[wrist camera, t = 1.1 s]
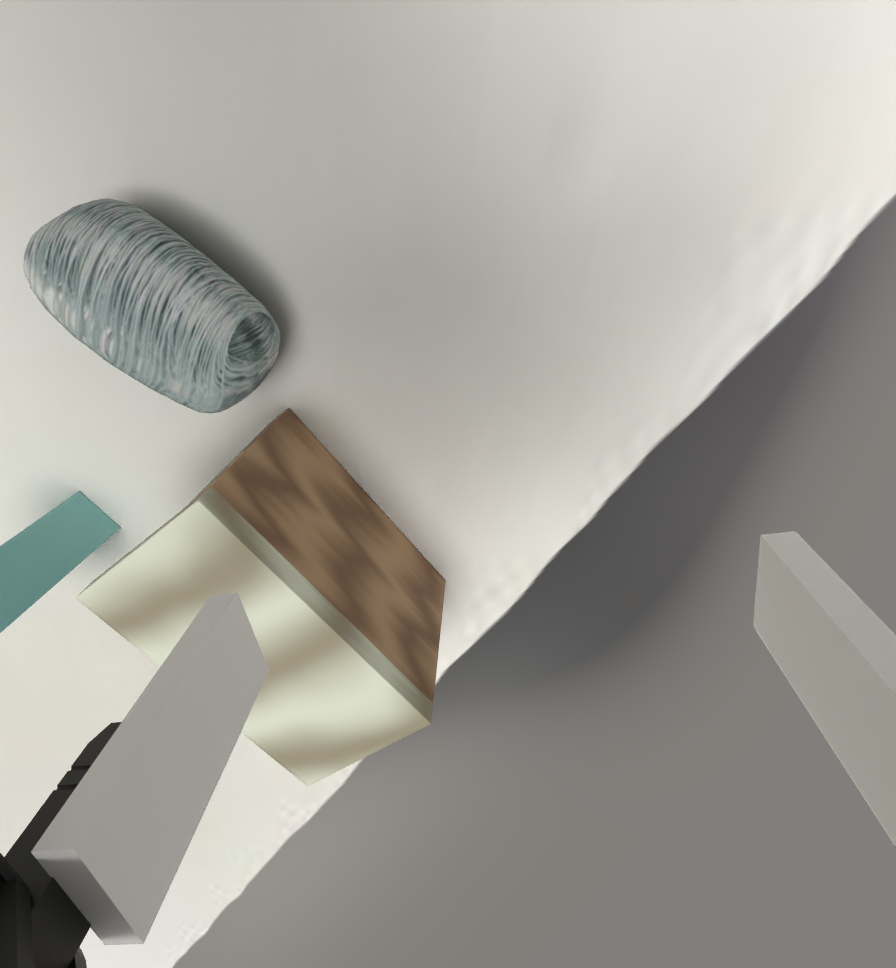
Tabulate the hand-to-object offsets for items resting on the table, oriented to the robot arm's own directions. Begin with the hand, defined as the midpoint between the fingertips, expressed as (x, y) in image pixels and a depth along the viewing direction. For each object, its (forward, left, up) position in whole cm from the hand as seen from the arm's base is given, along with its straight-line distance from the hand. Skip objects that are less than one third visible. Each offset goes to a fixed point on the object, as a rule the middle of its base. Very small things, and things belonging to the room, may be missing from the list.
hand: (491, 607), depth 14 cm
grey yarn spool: (-15, -13, -26) cm, 32 cm away
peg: (-9, -33, -26) cm, 43 cm away
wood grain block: (+3, -18, -26) cm, 31 cm away
